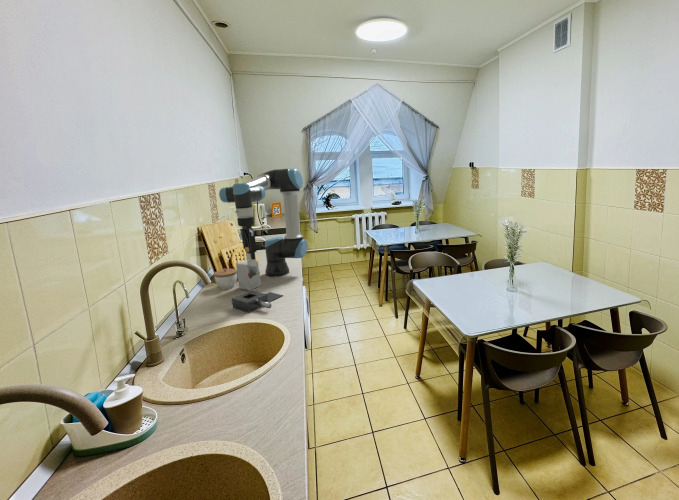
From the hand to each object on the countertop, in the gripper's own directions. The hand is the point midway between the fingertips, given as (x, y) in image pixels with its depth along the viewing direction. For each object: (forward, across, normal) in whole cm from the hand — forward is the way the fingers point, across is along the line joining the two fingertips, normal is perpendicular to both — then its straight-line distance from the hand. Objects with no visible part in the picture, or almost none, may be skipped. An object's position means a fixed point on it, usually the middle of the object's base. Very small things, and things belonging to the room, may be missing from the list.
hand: (251, 264), depth 157 cm
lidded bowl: (+20, -36, -4) cm, 42 cm away
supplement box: (+21, -26, +6) cm, 34 cm away
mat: (+20, -2, +7) cm, 21 cm away
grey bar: (+5, 0, 0) cm, 5 cm away
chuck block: (+20, +5, -3) cm, 21 cm away
